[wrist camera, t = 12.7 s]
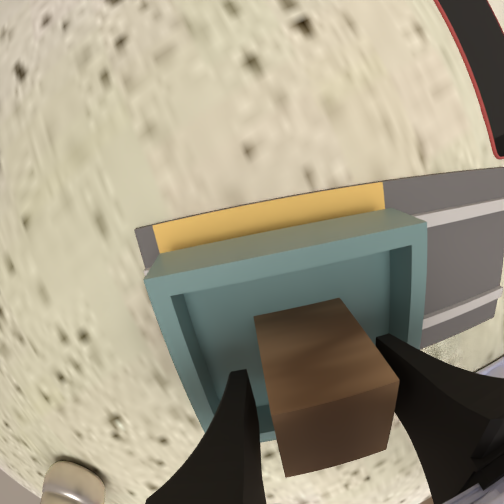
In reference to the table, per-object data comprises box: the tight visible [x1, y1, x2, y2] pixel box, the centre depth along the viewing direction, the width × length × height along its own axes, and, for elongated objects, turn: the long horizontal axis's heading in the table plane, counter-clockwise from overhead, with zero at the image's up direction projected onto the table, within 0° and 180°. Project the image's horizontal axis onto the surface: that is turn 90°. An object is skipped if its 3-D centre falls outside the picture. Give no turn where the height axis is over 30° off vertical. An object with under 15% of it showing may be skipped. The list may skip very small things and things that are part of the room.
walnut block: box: [253, 297, 400, 477], centre depth 11 cm, size 4×4×6 cm
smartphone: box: [434, 0, 504, 159], centre depth 13 cm, size 7×1×14 cm
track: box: [135, 167, 504, 349], centre depth 17 cm, size 24×12×1 cm, turn 100°
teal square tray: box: [144, 208, 427, 442], centre depth 14 cm, size 11×10×4 cm
